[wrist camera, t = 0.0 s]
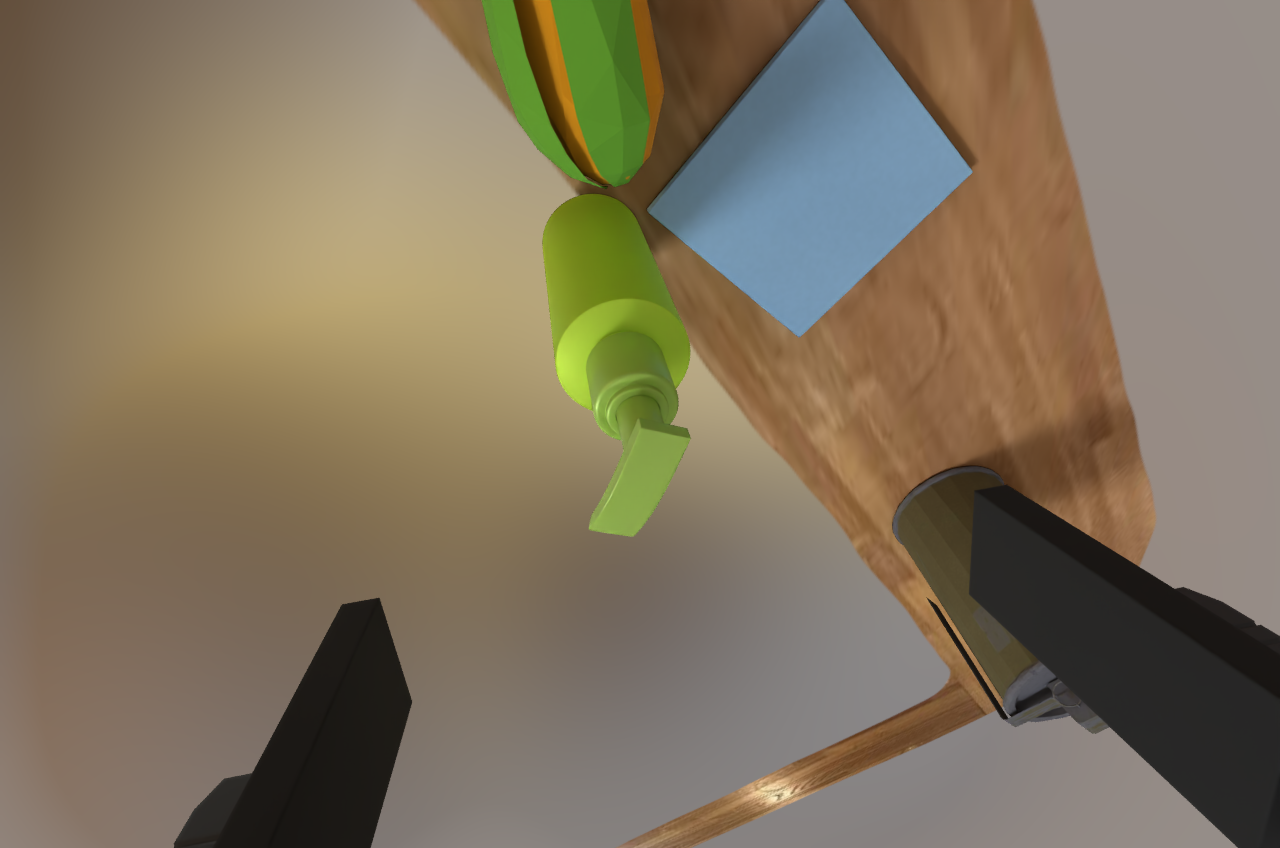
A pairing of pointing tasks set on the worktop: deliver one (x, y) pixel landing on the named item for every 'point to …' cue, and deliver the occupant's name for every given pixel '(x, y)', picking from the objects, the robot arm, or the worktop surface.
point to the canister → (942, 552)
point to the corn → (581, 81)
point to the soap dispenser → (617, 349)
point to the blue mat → (812, 172)
